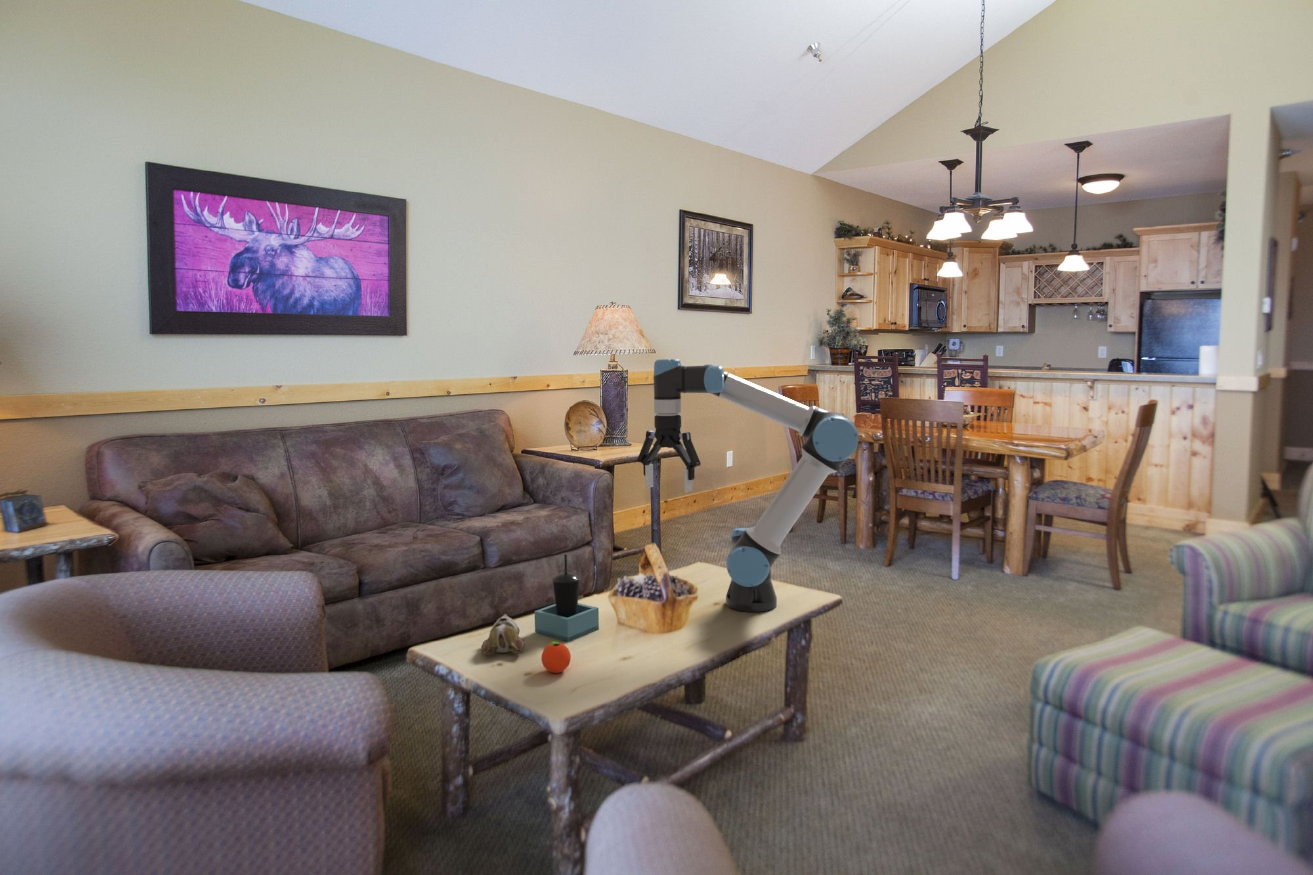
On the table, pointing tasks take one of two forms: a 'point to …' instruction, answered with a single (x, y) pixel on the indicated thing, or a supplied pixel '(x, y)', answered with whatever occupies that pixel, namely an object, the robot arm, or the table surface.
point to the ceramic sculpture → (503, 637)
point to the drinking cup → (566, 592)
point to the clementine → (556, 657)
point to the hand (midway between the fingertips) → (668, 489)
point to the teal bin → (566, 622)
